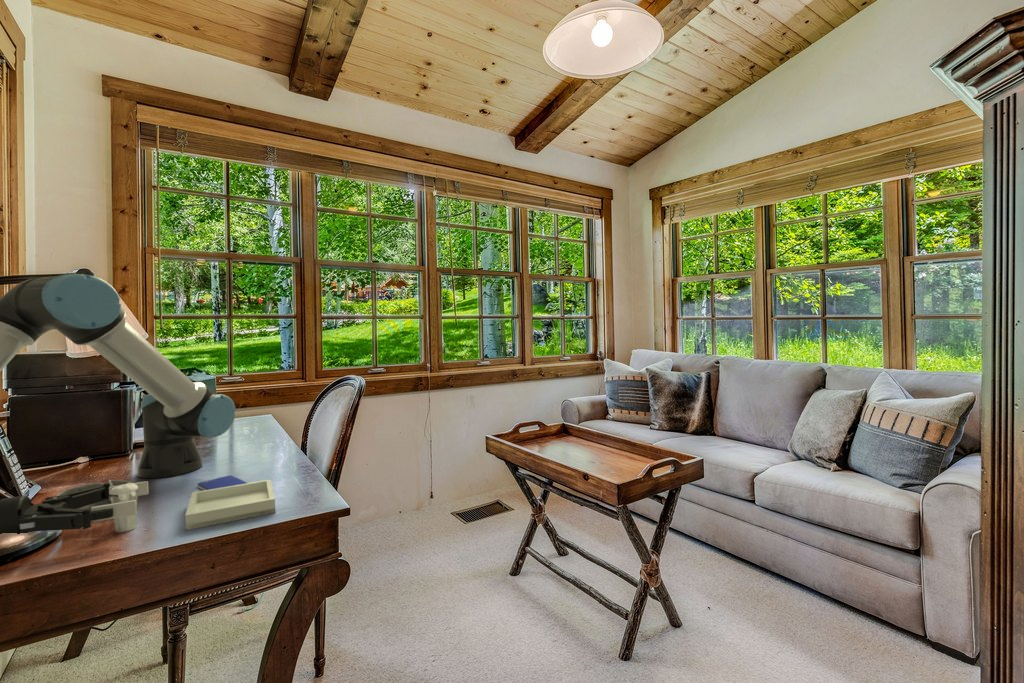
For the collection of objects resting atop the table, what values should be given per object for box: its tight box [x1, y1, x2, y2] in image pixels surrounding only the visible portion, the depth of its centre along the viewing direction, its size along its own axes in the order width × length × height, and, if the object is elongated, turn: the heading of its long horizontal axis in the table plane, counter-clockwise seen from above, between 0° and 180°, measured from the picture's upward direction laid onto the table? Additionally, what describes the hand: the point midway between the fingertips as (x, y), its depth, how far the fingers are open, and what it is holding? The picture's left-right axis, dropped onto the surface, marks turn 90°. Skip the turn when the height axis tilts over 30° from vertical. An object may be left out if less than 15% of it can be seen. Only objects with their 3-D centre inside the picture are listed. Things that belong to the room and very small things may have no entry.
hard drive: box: [197, 474, 248, 491], centre depth 122 cm, size 2×8×12 cm
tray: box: [184, 479, 276, 531], centre depth 106 cm, size 16×16×3 cm
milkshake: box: [108, 479, 139, 533], centre depth 96 cm, size 4×5×10 cm
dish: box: [55, 479, 134, 512], centre depth 109 cm, size 14×14×5 cm
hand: (142, 496), depth 98 cm, fingers open, 13 cm apart
